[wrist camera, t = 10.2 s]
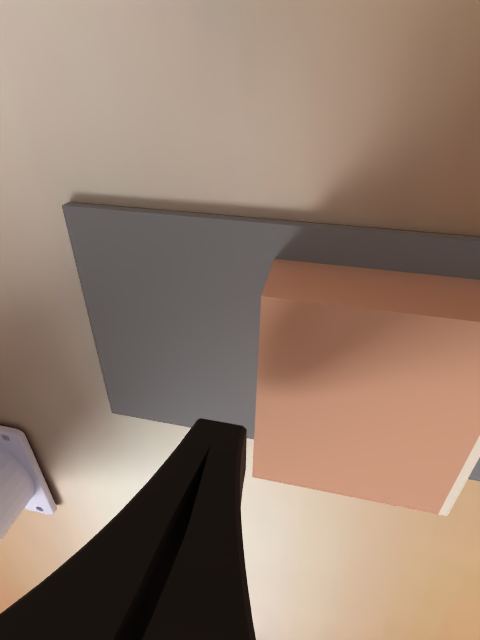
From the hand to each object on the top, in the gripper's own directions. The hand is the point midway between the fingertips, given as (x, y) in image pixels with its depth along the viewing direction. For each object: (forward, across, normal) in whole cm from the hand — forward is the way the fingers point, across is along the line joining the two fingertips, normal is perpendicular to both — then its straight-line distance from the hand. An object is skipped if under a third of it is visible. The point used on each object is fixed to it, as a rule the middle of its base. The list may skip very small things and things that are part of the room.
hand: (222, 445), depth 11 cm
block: (+3, -1, 0) cm, 3 cm away
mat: (+5, -2, 0) cm, 5 cm away
